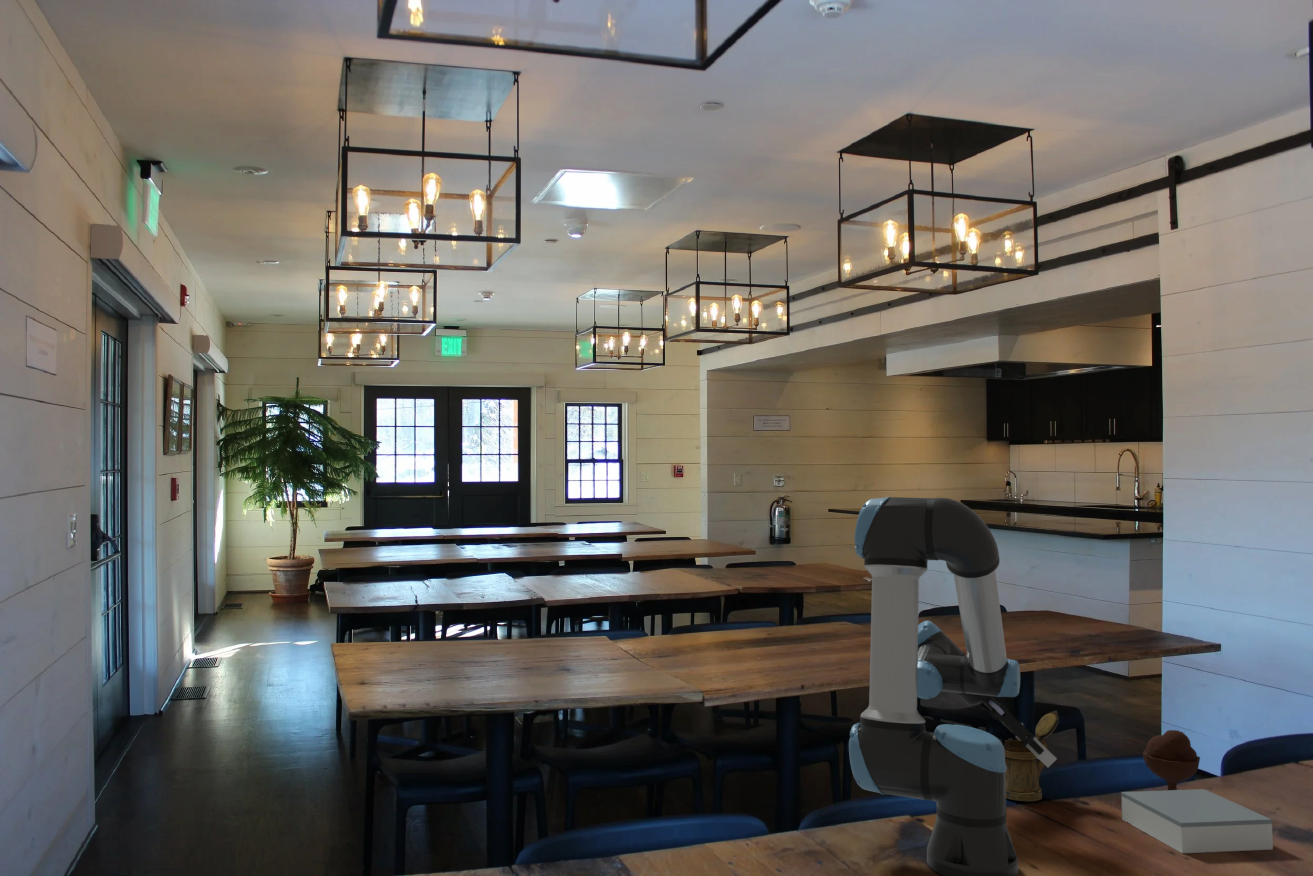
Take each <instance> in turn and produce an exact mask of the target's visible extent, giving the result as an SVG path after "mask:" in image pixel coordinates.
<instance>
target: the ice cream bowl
mask: <svg viewBox="0 0 1313 876" xmlns="http://www.w3.org/2000/svg"><path fill="white" fill-rule="evenodd" d="M1191 745H1192V744H1191V739H1190V738H1189V737H1188V736H1187V734H1185V733H1184V732H1183V731H1180V730H1175V729H1169V730H1167V731H1165V732H1164V733H1163V734H1157V735H1154V736H1152V737H1151V738H1150V739H1149V740H1148V741H1147V744H1146V749H1144V750H1143V751H1142V757H1143V760H1144V763H1145V765H1146V767H1147V768H1148V770H1150V771H1151V772H1152V773H1153V774H1154V775H1156V776H1157V777H1158V778H1160V779H1162V780H1165V782H1166V784H1167V790H1178V789H1177V788H1178V787H1177V785H1178V783H1179V782H1184V781H1186V780H1188V779H1190V778H1191V777H1192V776H1194V775H1196V773H1197V771H1198V769H1199V766H1200V760H1201V757H1200V756H1198V755H1197V751H1196V750H1195V749H1194V748H1193V747H1192V746H1191Z"/></svg>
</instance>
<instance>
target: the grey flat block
mask: <svg viewBox="0 0 1313 876" xmlns="http://www.w3.org/2000/svg"><path fill="white" fill-rule="evenodd" d="M1120 793H1121V819H1122V821H1124V822H1126V823H1127V822H1128V823H1127V824H1129V823H1130V824H1129V825H1131V826H1133V827H1134V828H1137V829H1138V830H1140V831H1142V832H1144V833H1146V834H1147V835H1149V836H1150V837H1152V838H1155V840H1157V841H1159V842H1161V843H1163V844H1164V845H1167V846H1168V847H1170V848H1172V849H1173V850H1175V851H1177V852H1179V853H1180V854H1193V853H1194V854H1195V853H1196V854H1197V853H1200V854H1201V853H1221V852H1241V851H1244V852H1245V851H1266V850H1267V851H1268V850H1271V851H1272V850H1273V849H1274V846H1273V845H1274V844H1273V843H1274V842H1273V839H1274V838H1273V819H1271V818H1269V817H1268V816H1265V815H1263V814H1260V813H1258V812H1256V811H1254V810H1252V809H1250V808H1247V807H1245V806H1243V805H1241V804H1238V803H1236V802H1234V801H1232V800H1229V799H1227V798H1225V797H1222V796H1220V795H1219V794H1216V793H1214V792H1212V791H1209V790H1207V789H1205V788H1202V789H1201V788H1200V789H1177V790H1168V789H1167V790H1142V791H1141V790H1140V791H1139V790H1138V791H1121V792H1120Z"/></svg>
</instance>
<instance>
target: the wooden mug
mask: <svg viewBox="0 0 1313 876" xmlns="http://www.w3.org/2000/svg"><path fill="white" fill-rule="evenodd" d="M1058 723H1059V713H1058V711H1057V710H1054V711H1051V712H1048V713H1046V714H1044V715H1043V716H1042V717H1041V718H1040V719H1039V721H1038V722H1037V724H1036V726H1035V732H1034V735H1035V736H1034V737H1035V738H1036V739H1037V740H1038V741H1039V742H1040V743H1041V744H1042V745H1043V746H1044V747H1045V748H1046V749H1047V750H1048V745H1047V743H1046V741H1045V739H1046V738H1048V737H1049V736H1050V735H1052V734H1053V732H1054V731H1055V730H1056V728H1057V726H1058ZM1022 744H1023V742H1022V741H1020V740H1018V739H1007V740H1004V744H1003V747H1004V753H1005V764H1006V766H1007V770H1006V772H1005V779H1006V793H1008V794H1009V795H1010V796H1008V794H1006V799H1007V800H1012V801H1018V802H1026V803H1027V802H1037V801H1040V800H1042V799H1043V794H1042V788H1041V787H1040V776H1041V774H1042V771H1043V769H1044V768H1045V765H1044V764H1043V763H1042V762H1041V761H1040V760H1039V759H1038V760H1036V759H1037V757H1036V756H1035V755H1034V754H1033V753H1032V752H1031V751H1030V750H1029V749H1028V748H1027V747H1026V746H1025V747H1024V748H1023V747H1022V746H1021V745H1022ZM1048 751H1049V750H1048Z"/></svg>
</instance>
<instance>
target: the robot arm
mask: <svg viewBox="0 0 1313 876" xmlns="http://www.w3.org/2000/svg"><path fill="white" fill-rule="evenodd" d="M854 544H855V545H854V549H855V550H854V551H855V554H856V555H857V557H858V558H861V559H862V560H864V562H863V564H864V565H863V567H864V569H865V570H866V571H867V572H868V573H869V574H870V576H871V578H872V580H871V606H870V607H871V611H870V612H871V613H870V615H871V616H870V649H869V650H870V652H869V653H870V654H869V655H870V658H869V662H870V663H869V693H868V694H869V699H868V701H869V703H868V707H867V708H866V709H865V710H864V711H862V712H861V714H860V721H859V722H857V723H855V724H853V725H852V726H851V729H850V731H849V740H848V754H849V756H848V757H849V763H850V768H851V772H852V775H853V779H854V781H855V782H856V783H857V785H858V786H859V787H860V788H861V789H862V790H865V791H869V792H872V793H873V792H874V793H878V794H880V795H882V796H885V795H890V796H891V795H892V796H898V797H905V798H911V799H918V800H924V801H931V802H932V801H933V802H935V803H936V819H935V823H934V824H933V827H932V830H931V831H932V832H931V834H930V837H929V841H928V844H927V848H926V863H927V865H928V866H929V868H930V870H933V871H934V872H936V873H938V874H939V875H941V876H1018V874H1019V859H1018V855H1017V853H1016V849H1015V847H1014V843H1013V841H1012V838H1011V835H1010V832H1009V829H1008V826H1007V798H1006V779H1005V772H1006V770H1007V766H1006V764H1005V753H1004V744H1003V743H1002V741H1001V740H1000V739H999V738H998V737H996V736H995V735H993V734H991V733H990V732H988V731H984V730H982V729H979V728H975V727H971V726H967V725H963V724H950V723H944V724H943V723H942V724H939V725H938V726H936V728H935V729H934V730H933V731H934V732H931V731H926V720H925V719H924V717H923V716H922V715H921V714H920V712H919V711H918V699H923V700H930V699H934V698H935V697H937V696H938V695H939V694H940V693H941V692H946V693H947V692H949V693H955V694H957V695H958V696H959V698H961V700H962V701H963V702H964V703H966V705H968V706H972V705H973V706H974V705H976V704H977V703H978V702H980V704H979V706H980V707H981V708H982V709H983V710H984V711H986V712H987V713H988V714H990V715H991V716H992V717H993V718H994V719H995V720H996V721H998V722H1001V724H1002V725H1003V726H1005V728H1006V729H1007V730H1008V731H1010V732H1011V735H1013V736H1015V738H1016V740H1020V741H1022V742H1023V744H1022V745H1021V746H1022V747H1023V748H1024V747H1025V746H1026V747H1027V748H1028V749H1029V750H1030V751H1031V752H1032V753H1033V754H1034V755H1035V756H1036V757H1037V758H1036V759H1038V760H1040V761H1041V762H1042V763H1043V764H1044V767H1045V766H1046V767H1045V768H1049V767H1051V766H1052V764H1053V763H1055V762H1056V760H1058V759H1057V757H1056V756H1055V755H1054V754H1053V753H1052V752H1051V751H1050V750H1047V749H1048V748H1047V749H1046V748H1045V747H1044V746H1043V745H1042V744H1041V743H1040V742H1039V741H1038V740H1037V739H1036V738H1035V736H1034V735H1035V734H1033V733H1031V732H1030V731H1029V730H1028V729H1027V728H1026V727H1025V724H1024V722H1020V721H1019V720H1018V719H1017V718H1016V717H1015V716H1014V715H1013V714H1012V713H1011V711H1010V709H1009V708H1008V706H1006V705H1005V704H1004V703H1003V702H1002V700H1001V699H1000V698H1002V697H1003V698H1016V697H1017V696H1019V694H1020V689H1021V668H1020V667H1021V666H1020V663H1019V662H1018V660H1015V659H1010V658H1007V650H1006V643H1005V635H1004V628H1003V627H1004V626H1003V619H1002V612H1001V604H1000V596H999V591H998V590H999V589H998V583H997V582H998V581H997V575H996V573H997V572H996V571H997V569H998V568H999V566H1000V553H999V547H998V543H997V542H996V539H995V537H994V535H993V533H992V531H991V530H990V527H988V525H987V524H986V522H985V521H984V520H983V519H982V518H981V517H980V516H979V515H978V514H977V513H976V512H975V511H974V510H973V509H971V508H970V507H969V506H967V505H965V504H964V503H962V502H960V501H958V500H955V499H952V498H947V497H936V498H933V497H902V496H901V497H900V496H899V497H898V496H897V497H896V496H887V497H879V498H878V497H877V498H871V499H868V500H867V501H865V503H863V505H862V507H861V509H860V511H859V513H858V516H857V520H856V524H855V530H854ZM928 561H944V562H945V563H946V564H945V565H946V568H947V569H948V571H949V572H950V573H951V574H952V575H953V578H954V584H955V589H956V590H955V591H956V595H957V596H956V597H957V602H958V609H959V615H960V621H961V627H962V633H963V639H964V645H965V651H966V653H964V652H963V650H961V648H959V646H957V644H955V642H953V640H951V639H950V638H949V636H948V635H947V634H946V633H945V632H943V630H942V629H941V628H939V627H938V626H937V625H936V624H935V623H933V622H932V621H931V620H924V621H922V622H920V623H919V604H920V603H919V595H920V594H919V591H920V590H919V588H920V578H921V577H922V576H923V575H925V574H926V572H928Z"/></svg>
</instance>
